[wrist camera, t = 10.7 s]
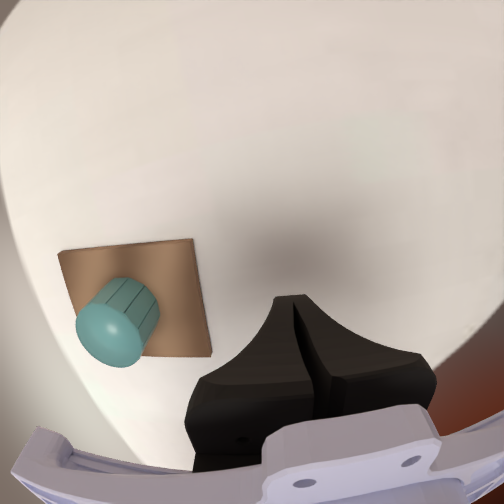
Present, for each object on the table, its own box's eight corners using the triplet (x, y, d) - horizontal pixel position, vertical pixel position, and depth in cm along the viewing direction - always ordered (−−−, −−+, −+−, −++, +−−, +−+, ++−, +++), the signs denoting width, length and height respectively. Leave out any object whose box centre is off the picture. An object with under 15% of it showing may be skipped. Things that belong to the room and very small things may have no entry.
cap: (151, 276, 21) (129, 305, 17) (165, 334, 23) (149, 369, 19) (94, 278, 21) (66, 305, 17) (111, 333, 23) (90, 364, 19)
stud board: (192, 238, 21) (180, 256, 18) (211, 351, 24) (206, 379, 21) (62, 250, 22) (38, 266, 18) (94, 347, 25) (78, 370, 21)
